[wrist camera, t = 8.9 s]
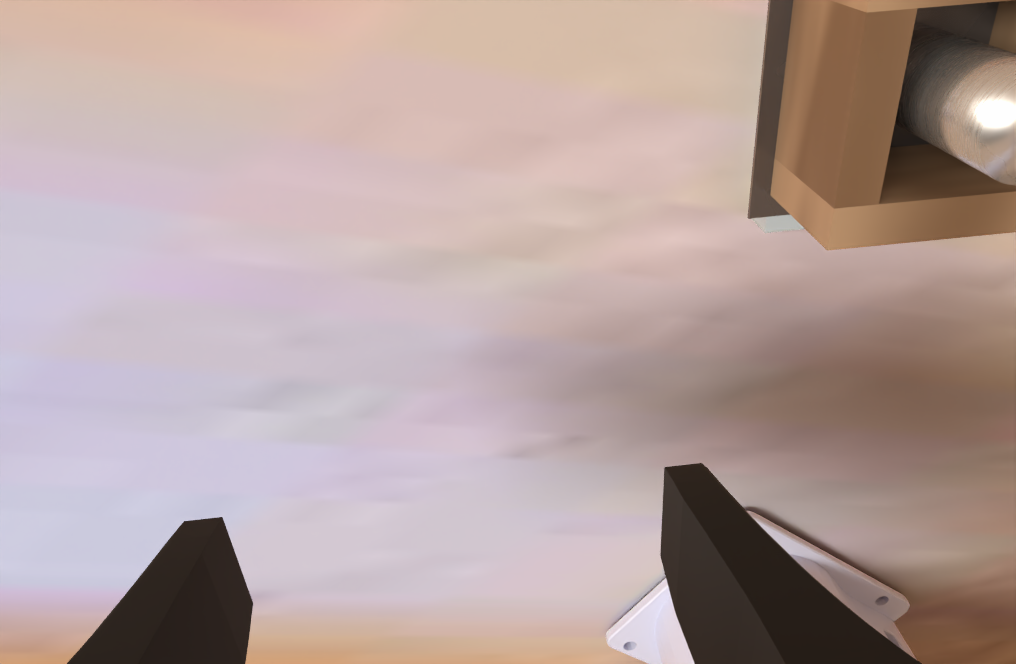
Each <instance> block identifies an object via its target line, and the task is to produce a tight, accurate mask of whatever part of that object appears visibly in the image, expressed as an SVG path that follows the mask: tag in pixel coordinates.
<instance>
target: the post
mask: <svg viewBox="0 0 1016 664" xmlns="http://www.w3.org/2000/svg"><path fill="white" fill-rule="evenodd" d="M998 5H999V1H998V2H986V3H974V4H962V5H951V6H939V7H927V8H917V14H916V19H915V24H914V29H913V34H912V39H911V44H910V49H909V54H908V59H907V64H906V69H905V74H904V80H903V85H902V90H901V95H900V100H899V105H898V110H897V115H896V120H895V125H894V130H893V135H892V140H891V146H890V147H901V146H912V145H923V144H932V145H934V146H936V147H937V148H939V149H941V150H943V151H945V152H946V153H948V154H950V155H952V156H954V157H955V158H957V159H959V160H961V161H963V162H964V163H966V164H968V165H970V166H972V167H973V168H975V169H977V170H979V171H981V172H982V173H984V174H986V175H988V176H990V177H991V178H993V179H995V180H997V181H999V182H1001V183H1004V184H1008V185H1016V54H1015V53H1012V52H1009V51H1006V50H1003V49H1000V48H997V47H994V46H991V45H989V41H990V37H991V33H992V29H993V25H994V21H995V17H996V13H997V9H998ZM792 8H793V0H769V3H768V14H767V24H766V34H765V45H764V55H763V65H762V75H761V86H760V96H759V106H758V116H757V127H756V137H755V147H754V158H753V168H752V178H751V188H750V199H749V209H748V218H749V219H751V218H761V217H771V216H781V215H790V214H789V213H788V212H787V211H786V210H785V209H784V208H783V207H782V206H781V205H780V204H779V203H778V202H777V201H776V200H775V199H774V198H773V197H772V196H771V195H770V193H771V184H772V176H773V168H774V159H775V151H776V142H777V134H778V125H779V117H780V109H781V100H782V92H783V83H784V75H785V67H786V58H787V50H788V41H789V33H790V24H791V16H792Z"/></svg>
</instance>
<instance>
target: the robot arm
mask: <svg viewBox="0 0 1016 664" xmlns="http://www.w3.org/2000/svg"><path fill="white" fill-rule="evenodd" d="M661 559H662V563H663V567H664V571H665V575H666V578H665V579H664V580H663V581H662V582H661V583H660V584H659V585H657V586H656V587H655V588H654V589H653V590H652V591H651V592H650V593H649V594H648V595H646V596H645V597H644V598H643V599H642V600H641V601H640V602H639V603H638V604H637V605H636V606H634V607H633V608H632V609H631V610H630V611H629V612H628V613H627V614H626V615H625V616H623V617H622V618H621V619H620V620H619V621H618V622H617V623H616V624H615V625H614V626H612V627H611V628H610V629H609V630H608V632H607V633H606V640H607V643H608V646H610V647H611V648H613V649H615V650H618V651H620V652H622V653H625V654H627V655H629V656H632V657H634V658H637V659H639V660H641V661H644V662H646V663H648V664H921V663H920V662H919V661H917V659H916V658H915V656H914V654H913V653H912V651H911V649H910V648H909V646H908V645H907V643H906V641H905V640H904V638H903V636H902V635H901V633H900V632H899V630H898V628H897V627H896V625H895V623H894V621H896V620H897V619H898V618H900V617H901V616H902V615H904V614H905V613H906V612H907V611H908V609H909V607H910V604H909V602H908V600H907V599H906V597H905V596H904V595H903V594H901V593H899V592H897V591H895V590H893V589H892V588H890V587H888V586H886V585H884V584H883V583H881V582H879V581H877V580H875V579H874V578H872V577H870V576H868V575H866V574H865V573H863V572H861V571H859V570H857V569H856V568H854V567H852V566H850V565H848V564H846V563H845V562H843V561H841V560H839V559H837V558H836V557H834V556H832V555H830V554H828V553H827V552H825V551H823V550H821V549H819V548H818V547H816V546H814V545H812V544H810V543H809V542H807V541H805V540H803V539H801V538H800V537H798V536H796V535H794V534H792V533H790V532H789V531H787V530H785V529H783V528H781V527H780V526H778V525H776V524H774V523H772V522H771V521H769V520H767V519H765V518H763V517H762V516H760V515H758V514H756V513H754V512H751V511H746V510H745V509H744V508H743V507H742V506H741V505H740V504H739V503H738V502H737V501H736V500H735V498H734V497H733V496H732V495H731V494H730V493H729V492H728V491H727V490H726V489H725V487H724V486H723V485H722V484H721V483H720V482H719V481H718V480H717V478H716V477H715V476H714V475H713V474H712V473H711V472H710V471H709V469H708V468H707V467H705V466H704V465H703V464H702V463H699V464H690V465H681V466H672V467H665V471H664V492H663V513H662V534H661ZM252 606H253V602H252V599H251V596H250V594H249V591H248V588H247V585H246V582H245V580H244V577H243V574H242V571H241V568H240V566H239V563H238V560H237V557H236V554H235V552H234V549H233V546H232V543H231V540H230V538H229V535H228V532H227V529H226V526H225V523H224V521H223V518H222V517H219V518H210V519H201V520H193V521H184V522H183V523H182V525H181V526H180V527H179V528H178V529H177V531H176V532H175V533H174V534H173V535H172V537H171V538H170V539H169V540H168V542H167V543H166V544H165V545H164V547H163V548H162V549H161V550H160V552H159V553H158V554H157V555H156V557H155V558H154V559H153V561H152V562H151V563H150V564H149V566H148V567H147V568H146V569H145V571H144V572H143V573H142V575H141V576H140V577H139V578H138V580H137V581H136V582H135V583H134V585H133V586H132V587H131V588H130V590H129V591H128V592H127V593H126V595H125V596H124V597H123V598H122V599H121V601H120V602H119V603H118V604H117V606H116V607H115V608H114V609H113V610H112V612H111V613H110V614H109V615H108V616H107V618H106V619H105V620H104V621H103V622H102V624H101V625H100V626H99V627H98V629H97V630H96V631H95V632H94V633H93V635H92V636H91V637H90V638H89V639H88V640H87V642H86V643H85V644H84V645H83V646H82V647H81V648H80V650H79V651H78V652H77V653H76V654H75V655H74V656H73V657H72V658H71V660H70V661H69V662H68V663H67V664H245V661H246V654H247V647H248V640H249V632H250V624H251V615H252Z"/></svg>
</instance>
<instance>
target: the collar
mask: <svg viewBox="0 0 1016 664" xmlns="http://www.w3.org/2000/svg"><path fill="white" fill-rule="evenodd" d="M998 1H999V5H998V9H997V13H996V17H995V21H994V25H993V29H992V33H991V37H990V41H989V45H991V46H994V47H997V48H1000V49H1003V50H1006V51H1009V52H1012V53H1015V54H1016V0H793V8H792V16H791V24H790V33H789V41H788V50H787V58H786V67H785V75H784V83H783V92H782V100H781V109H780V117H779V125H778V134H777V142H776V151H775V159H774V168H773V176H772V184H771V193H770V195H771V196H772V197H773V198H774V199H775V200H776V201H777V202H778V203H779V204H780V205H781V206H782V207H783V208H784V209H785V210H786V211H787V212H788V213H789V214H790V215H791V216H792V217H793V218H794V219H795V220H796V221H797V222H798V223H799V224H800V225H802V226H803V227H804V228H805V229H806V230H807V231H808V232H809V233H810V234H811V235H812V236H813V237H814V238H815V239H816V240H817V241H818V242H819V243H820V244H821V245H822V246H823V247H824V248H825V249H826V250H836V249H846V248H857V247H867V246H877V245H888V244H898V243H908V242H918V241H929V240H939V239H949V238H960V237H970V236H980V235H990V234H1001V233H1011V232H1016V185H1008V184H1004V183H1001V182H999V181H997V180H995V179H993V178H991V177H990V176H988V175H986V174H984V173H982V172H981V171H979V170H977V169H975V168H973V167H972V166H970V165H968V164H966V163H964V162H963V161H961V160H959V159H957V158H955V157H954V156H952V155H950V154H948V153H946V152H945V151H943V150H941V149H939V148H937V147H936V146H934V145H932V144H923V145H912V146H901V147H890V146H891V140H892V135H893V130H894V125H895V120H896V115H897V110H898V105H899V100H900V95H901V90H902V85H903V80H904V74H905V69H906V64H907V59H908V54H909V49H910V44H911V39H912V34H913V29H914V24H915V19H916V14H917V8H927V7H939V6H951V5H962V4H974V3H986V2H998Z"/></svg>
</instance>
